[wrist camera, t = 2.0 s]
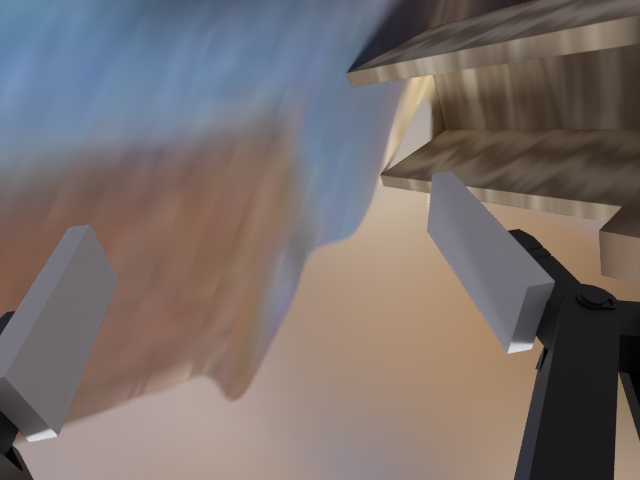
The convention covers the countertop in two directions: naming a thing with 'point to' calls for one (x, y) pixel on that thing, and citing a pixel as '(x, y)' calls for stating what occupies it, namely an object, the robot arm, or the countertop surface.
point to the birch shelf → (529, 105)
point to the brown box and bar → (622, 242)
